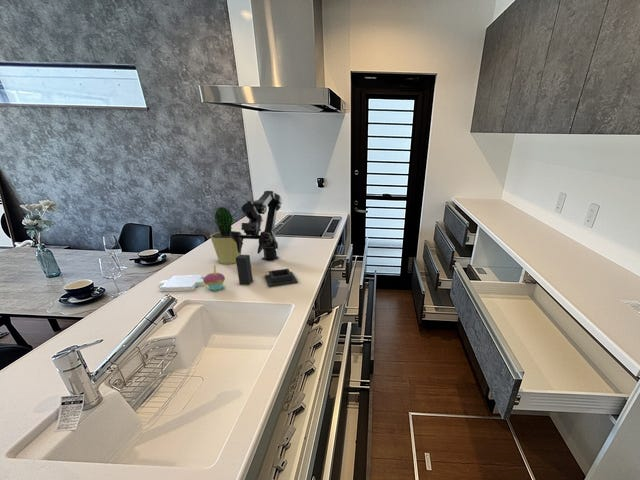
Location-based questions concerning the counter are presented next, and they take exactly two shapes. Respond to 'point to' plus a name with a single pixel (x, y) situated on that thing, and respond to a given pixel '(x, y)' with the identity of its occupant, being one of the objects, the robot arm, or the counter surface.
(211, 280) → the cupcake
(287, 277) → the socket pad
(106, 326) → the counter surface
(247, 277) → the post
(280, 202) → the robot arm
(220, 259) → the potted cactus
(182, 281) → the mounting plate
